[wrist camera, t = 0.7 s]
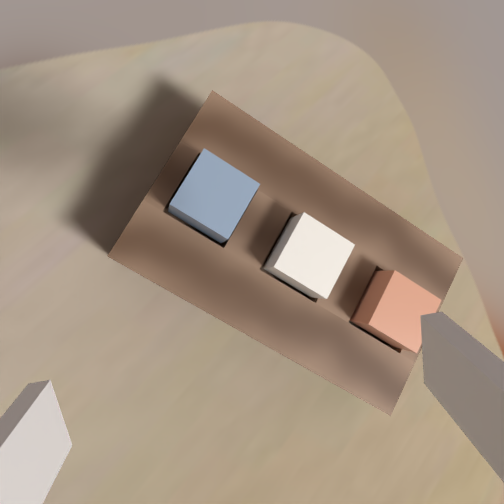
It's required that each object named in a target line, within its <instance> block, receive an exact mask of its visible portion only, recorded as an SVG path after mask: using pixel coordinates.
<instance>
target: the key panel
mask: <svg viewBox="0 0 504 504" xmlns="http://www.w3.org/2000/svg"><path fill="white" fill-rule="evenodd" d="M204 148H205V149H206V150H208V151H209V152H211V153H213V154H214V155H216V156H217V157H219V158H220V159H222V160H223V161H225V162H227V163H228V164H230V165H231V166H233V167H234V168H236V169H238V170H239V171H241V172H242V173H244V174H245V175H247V176H248V177H250V178H252V179H253V180H255V181H256V182H258V183H259V184H260V185H259V187H258V189H257V191H256V192H255V194H254V196H253V198H252V199H251V201H250V203H249V204H248V206H247V208H246V210H245V211H244V213H243V215H242V216H241V218H240V220H239V222H238V223H237V225H236V227H235V229H234V230H233V232H232V234H231V235H230V237H229V239H228V240H226V241H224V242H223V243H220V242H218V241H216V240H215V239H213V238H211V237H210V236H208V235H206V234H205V233H203V232H201V231H200V230H198V229H196V228H195V227H193V226H191V225H190V224H188V223H186V222H185V221H183V220H181V219H180V218H178V217H176V216H175V215H173V214H171V213H170V212H168V209H169V204H170V203H171V201H172V199H173V198H174V196H175V195H176V193H177V191H178V190H179V188H180V186H181V185H182V183H183V182H184V180H185V178H186V177H187V175H188V174H189V172H190V170H191V169H192V167H193V165H194V164H195V162H196V161H197V159H198V157H199V156H200V154H201V153H202V151H203V149H204ZM303 212H305V213H306V214H308V215H309V216H311V217H313V218H314V219H316V220H317V221H319V222H320V223H322V224H324V225H325V226H327V227H328V228H330V229H331V230H333V231H334V232H336V233H338V234H339V235H341V236H342V237H344V238H345V239H347V240H349V241H350V242H352V243H353V244H355V246H354V248H353V250H352V252H351V254H350V256H349V257H348V259H347V261H346V263H345V265H344V267H343V269H342V271H341V273H340V275H339V277H338V279H337V281H336V283H335V285H334V287H333V288H332V290H331V292H330V294H329V296H328V298H327V299H322V298H313V297H310V296H308V295H306V294H305V293H303V292H301V291H300V290H298V289H296V288H295V287H293V286H291V285H290V284H288V283H286V282H285V281H283V280H281V279H280V278H278V277H276V276H275V275H273V274H271V273H270V272H268V271H266V270H265V269H263V266H264V264H265V263H266V261H267V259H268V257H269V255H270V254H271V252H272V250H273V248H274V246H275V245H276V243H277V241H278V239H279V237H280V236H281V234H282V232H283V230H284V228H285V227H286V225H287V223H288V221H289V219H290V218H292V217H294V216H296V215H299V214H301V213H303ZM108 257H110V258H111V259H113V260H115V261H117V262H119V263H120V264H122V265H124V266H126V267H127V268H129V269H131V270H133V271H134V272H136V273H138V274H140V275H142V276H143V277H145V278H147V279H149V280H150V281H152V282H154V283H156V284H158V285H159V286H161V287H163V288H165V289H166V290H168V291H170V292H172V293H174V294H175V295H177V296H179V297H181V298H182V299H184V300H186V301H188V302H190V303H191V304H193V305H195V306H197V307H198V308H200V309H202V310H204V311H206V312H207V313H209V314H211V315H213V316H214V317H216V318H218V319H220V320H221V321H223V322H225V323H227V324H229V325H230V326H232V327H234V328H236V329H237V330H239V331H241V332H243V333H245V334H246V335H248V336H250V337H252V338H253V339H255V340H257V341H259V342H261V343H262V344H264V345H266V346H268V347H269V348H271V349H273V350H275V351H277V352H278V353H280V354H282V355H284V356H285V357H287V358H289V359H291V360H293V361H294V362H296V363H298V364H300V365H301V366H303V367H305V368H307V369H308V370H310V371H312V372H314V373H316V374H317V375H319V376H321V377H323V378H324V379H326V380H328V381H330V382H332V383H333V384H335V385H337V386H339V387H340V388H342V389H344V390H346V391H348V392H349V393H351V394H353V395H355V396H356V397H358V398H360V399H362V400H364V401H365V402H367V403H369V404H371V405H372V406H374V407H376V408H378V409H380V410H381V411H383V412H385V413H387V414H388V415H390V416H391V414H392V412H393V409H394V407H395V405H396V403H397V401H398V399H399V396H400V394H401V392H402V390H403V388H404V385H405V383H406V381H407V379H408V377H409V375H410V372H411V370H412V368H413V366H414V364H415V362H416V359H417V357H418V355H419V353H420V351H421V349H422V344H421V346H420V348H419V350H418V352H417V353H414V352H410V351H407V350H403V349H400V348H396V347H393V346H391V345H390V344H388V343H386V342H385V341H383V340H381V339H380V338H378V337H376V336H375V335H373V334H371V333H370V332H368V331H366V330H365V329H363V328H361V327H360V326H358V325H356V324H355V323H353V322H351V321H350V318H351V316H352V314H353V312H354V310H355V308H356V306H357V304H358V302H359V300H360V298H361V296H362V294H363V292H364V290H365V288H366V286H367V284H368V282H369V280H370V278H371V276H372V274H373V272H374V271H387V270H395V271H397V272H399V273H400V274H402V275H403V276H405V277H406V278H408V279H410V280H411V281H413V282H414V283H416V284H417V285H419V286H421V287H422V288H424V289H425V290H427V291H428V292H430V293H431V294H433V295H435V296H436V297H438V298H439V299H441V302H440V305H439V307H438V309H437V311H436V313H437V312H439V310H440V307H441V305H442V303H443V301H444V299H445V297H446V294H447V292H448V290H449V288H450V286H451V283H452V281H453V279H454V277H455V275H456V273H457V270H458V268H459V266H460V264H461V262H462V260H463V258H462V257H461V256H459V255H458V254H456V253H455V252H453V251H452V250H450V249H449V248H447V247H446V246H444V245H443V244H441V243H440V242H438V241H437V240H435V239H434V238H432V237H431V236H429V235H428V234H426V233H425V232H423V231H422V230H420V229H419V228H417V227H416V226H414V225H413V224H411V223H410V222H408V221H407V220H405V219H404V218H402V217H401V216H399V215H398V214H396V213H395V212H393V211H392V210H390V209H389V208H387V207H386V206H384V205H383V204H381V203H380V202H378V201H377V200H375V199H374V198H372V197H371V196H369V195H368V194H366V193H365V192H364V191H362V190H361V189H359V188H358V187H356V186H355V185H353V184H352V183H350V182H349V181H347V180H346V179H344V178H343V177H341V176H340V175H338V174H337V173H335V172H334V171H332V170H331V169H329V168H328V167H326V166H325V165H323V164H322V163H320V162H319V161H317V160H316V159H314V158H313V157H311V156H310V155H308V154H307V153H305V152H304V151H302V150H301V149H299V148H298V147H296V146H295V145H293V144H292V143H290V142H289V141H287V140H286V139H284V138H283V137H281V136H280V135H278V134H277V133H275V132H274V131H272V130H271V129H269V128H268V127H266V126H265V125H263V124H262V123H260V122H259V121H257V120H256V119H254V118H253V117H251V116H250V115H248V114H247V113H245V112H244V111H242V110H241V109H239V108H238V107H236V106H235V105H233V104H232V103H230V102H229V101H227V100H226V99H225V98H223V97H222V96H220V95H219V94H217V93H216V92H214V91H213V90H212V92H211V93H210V95H209V96H208V98H207V100H206V101H205V103H204V104H203V106H202V108H201V109H200V111H199V112H198V114H197V115H196V117H195V119H194V120H193V122H192V123H191V125H190V126H189V128H188V130H187V131H186V133H185V134H184V136H183V138H182V139H181V141H180V142H179V144H178V145H177V147H176V149H175V150H174V152H173V153H172V155H171V156H170V158H169V160H168V161H167V163H166V164H165V166H164V168H163V169H162V171H161V172H160V174H159V175H158V177H157V179H156V180H155V182H154V183H153V185H152V186H151V188H150V190H149V191H148V193H147V194H146V196H145V197H144V199H143V201H142V202H141V204H140V205H139V207H138V209H137V210H136V212H135V213H134V215H133V216H132V218H131V220H130V221H129V223H128V224H127V226H126V227H125V229H124V231H123V232H122V234H121V235H120V237H119V239H118V240H117V242H116V243H115V245H114V246H113V248H112V250H111V251H110V253H109V254H108Z"/></svg>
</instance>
